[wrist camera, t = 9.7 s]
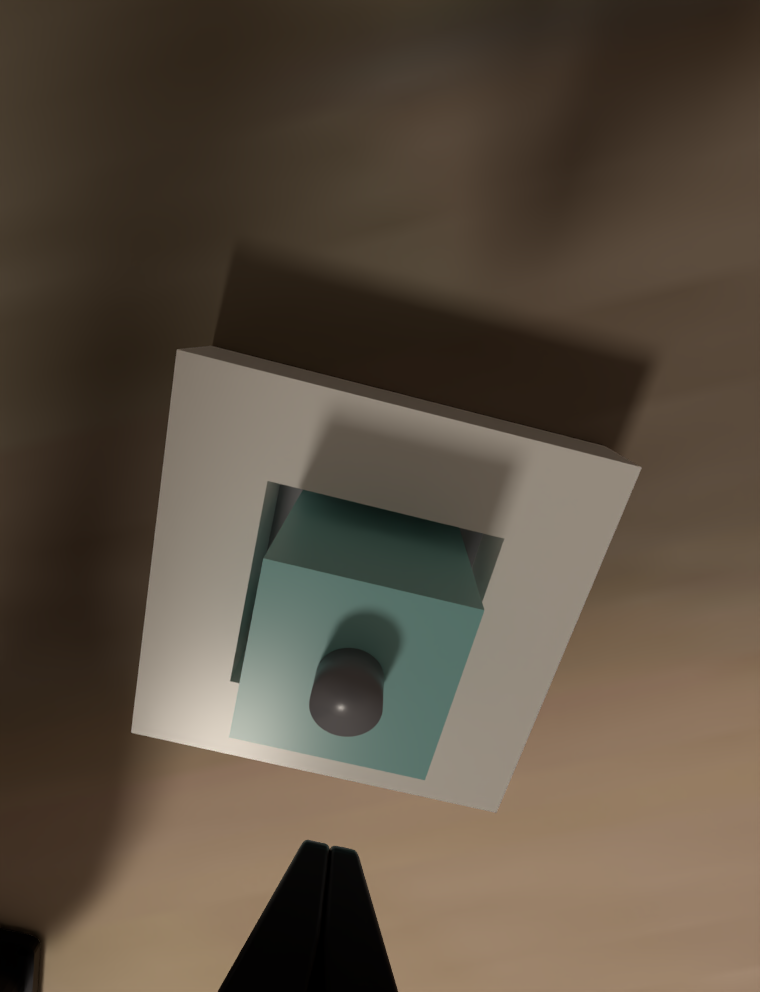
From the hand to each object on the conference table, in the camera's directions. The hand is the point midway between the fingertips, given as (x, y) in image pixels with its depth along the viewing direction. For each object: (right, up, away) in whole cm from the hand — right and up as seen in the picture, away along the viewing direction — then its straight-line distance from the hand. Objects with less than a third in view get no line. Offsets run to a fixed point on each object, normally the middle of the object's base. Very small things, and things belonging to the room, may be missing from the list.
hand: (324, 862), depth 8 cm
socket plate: (0, +3, +9) cm, 10 cm away
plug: (0, +3, +9) cm, 9 cm away
